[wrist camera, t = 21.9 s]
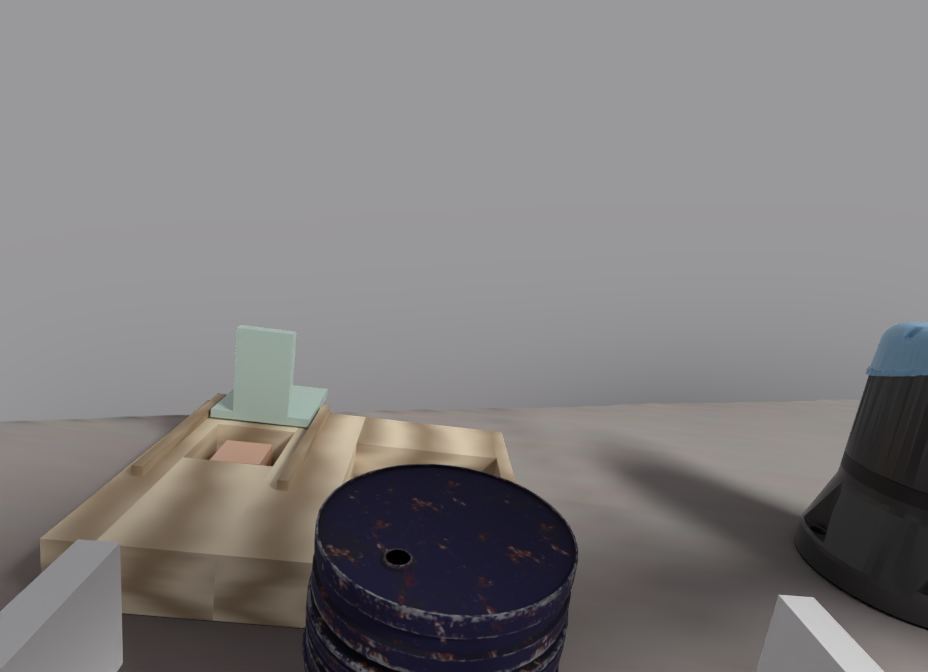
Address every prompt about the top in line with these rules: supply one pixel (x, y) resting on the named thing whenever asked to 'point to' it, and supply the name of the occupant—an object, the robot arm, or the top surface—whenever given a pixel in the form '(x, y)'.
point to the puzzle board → (246, 509)
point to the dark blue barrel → (437, 575)
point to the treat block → (244, 453)
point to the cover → (268, 381)
